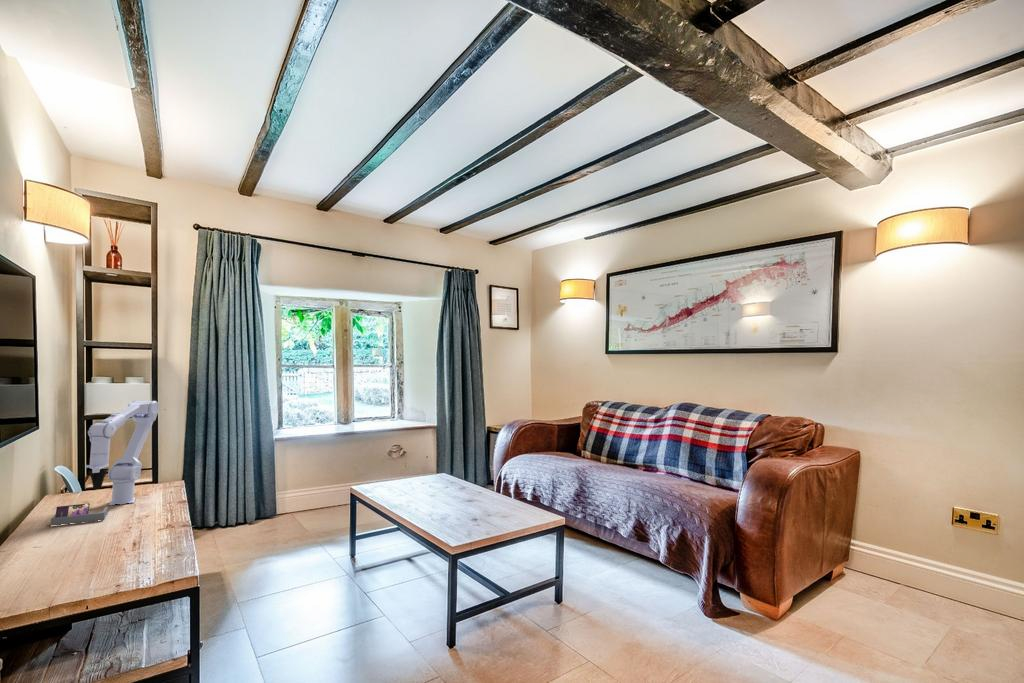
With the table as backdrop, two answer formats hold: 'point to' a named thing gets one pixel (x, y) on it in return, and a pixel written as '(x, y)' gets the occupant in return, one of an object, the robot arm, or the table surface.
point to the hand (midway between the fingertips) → (97, 488)
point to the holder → (79, 518)
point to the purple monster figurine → (63, 512)
